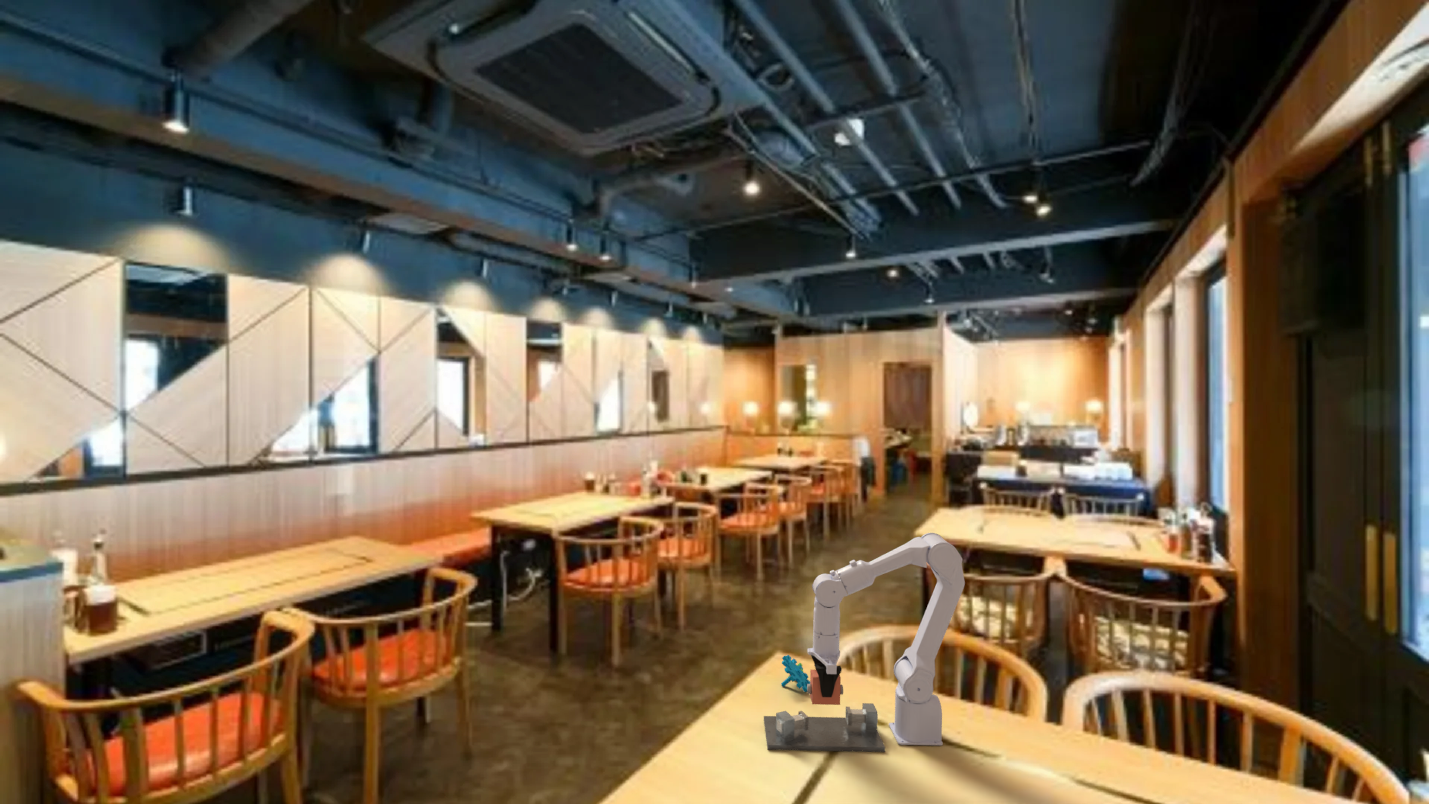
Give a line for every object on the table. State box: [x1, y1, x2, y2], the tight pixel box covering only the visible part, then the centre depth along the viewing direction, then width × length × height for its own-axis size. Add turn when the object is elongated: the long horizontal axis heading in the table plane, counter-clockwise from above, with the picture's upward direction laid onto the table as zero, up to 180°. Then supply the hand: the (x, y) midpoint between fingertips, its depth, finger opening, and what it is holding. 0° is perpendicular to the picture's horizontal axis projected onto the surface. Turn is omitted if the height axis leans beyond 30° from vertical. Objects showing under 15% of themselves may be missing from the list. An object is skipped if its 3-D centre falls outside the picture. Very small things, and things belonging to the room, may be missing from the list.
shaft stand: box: [763, 702, 886, 753], centre depth 136 cm, size 24×12×6 cm, turn 90°
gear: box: [780, 654, 810, 693], centre depth 159 cm, size 11×6×10 cm
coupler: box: [806, 669, 844, 706], centre depth 138 cm, size 8×4×6 cm, turn 90°
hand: (825, 691), depth 138 cm, fingers closed on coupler, 4 cm apart
